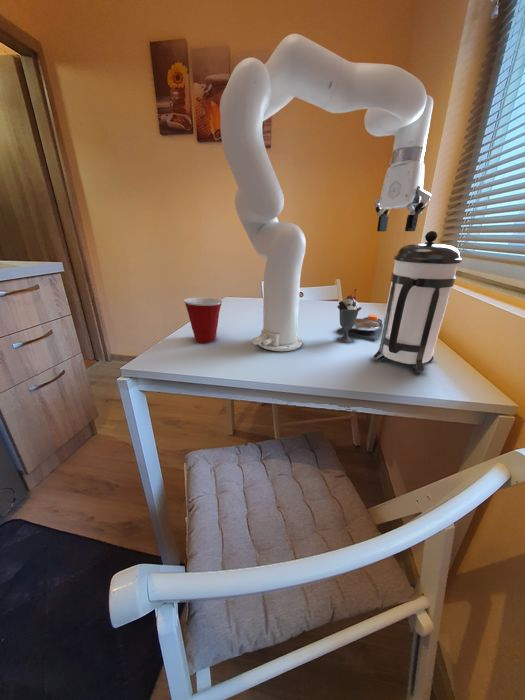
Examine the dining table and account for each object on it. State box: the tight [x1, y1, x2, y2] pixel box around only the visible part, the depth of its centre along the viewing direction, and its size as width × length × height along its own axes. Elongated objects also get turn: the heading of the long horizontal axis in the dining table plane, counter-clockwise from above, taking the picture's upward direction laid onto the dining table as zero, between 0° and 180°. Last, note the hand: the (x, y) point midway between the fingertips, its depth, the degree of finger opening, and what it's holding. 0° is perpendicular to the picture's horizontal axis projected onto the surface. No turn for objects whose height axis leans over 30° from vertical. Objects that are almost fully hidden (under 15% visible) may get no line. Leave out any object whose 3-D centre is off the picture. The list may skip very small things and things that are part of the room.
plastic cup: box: [183, 297, 224, 344], centre depth 79 cm, size 11×11×12 cm
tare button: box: [367, 314, 379, 321], centre depth 94 cm, size 3×3×2 cm
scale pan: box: [352, 318, 380, 331], centre depth 88 cm, size 10×10×1 cm
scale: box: [336, 316, 383, 342], centre depth 91 cm, size 16×12×2 cm
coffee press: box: [372, 230, 462, 374], centre depth 63 cm, size 17×16×30 cm
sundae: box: [335, 288, 362, 344], centre depth 80 cm, size 7×7×15 cm
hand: (395, 231), depth 79 cm, fingers open, 9 cm apart
